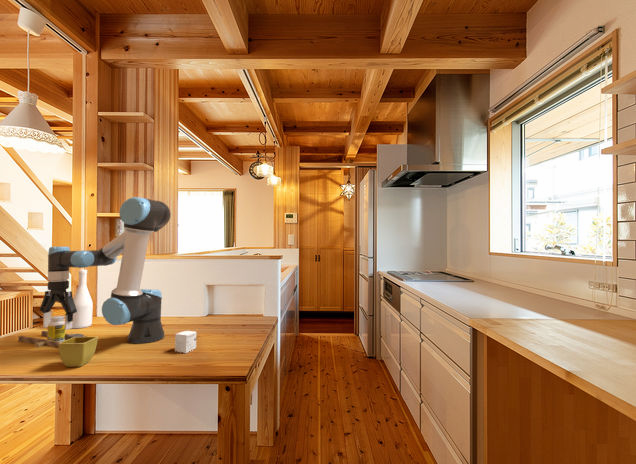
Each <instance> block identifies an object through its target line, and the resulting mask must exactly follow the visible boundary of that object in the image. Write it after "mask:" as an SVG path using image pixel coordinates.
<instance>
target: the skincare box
mask: <svg viewBox="0 0 636 464" xmlns="http://www.w3.org/2000/svg"><path fill="white" fill-rule="evenodd" d="M174 340H175V341H174V342H175V343H174V352H176V351H177V352H176V353H182V352H183V354H187V353H190V352H192V351H194V350H193V349H195V348H196V349H197V331H193V330H192V331H191V330H184V331H180V332H178V333H175V339H174ZM196 349H195V350H196ZM191 350H192V351H191ZM189 351H190V352H189Z"/></svg>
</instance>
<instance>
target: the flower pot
mask: <svg viewBox="0 0 636 464" xmlns="http://www.w3.org/2000/svg"><path fill="white" fill-rule="evenodd" d="M98 341H99V336H87V337H73V338H71V339H68V340H67V339H65V340H64V341H62V342H61V343H59V347H58V351H59V358H60V361H61V362H62V364H63V365H64V366H65V367H67V368H68V367H82V366H84V365H86V364H88V363H90V361H91V360H92V358H93V356H94V354H95V352H96V350H97V349H96V348H97V345H98Z"/></svg>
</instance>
